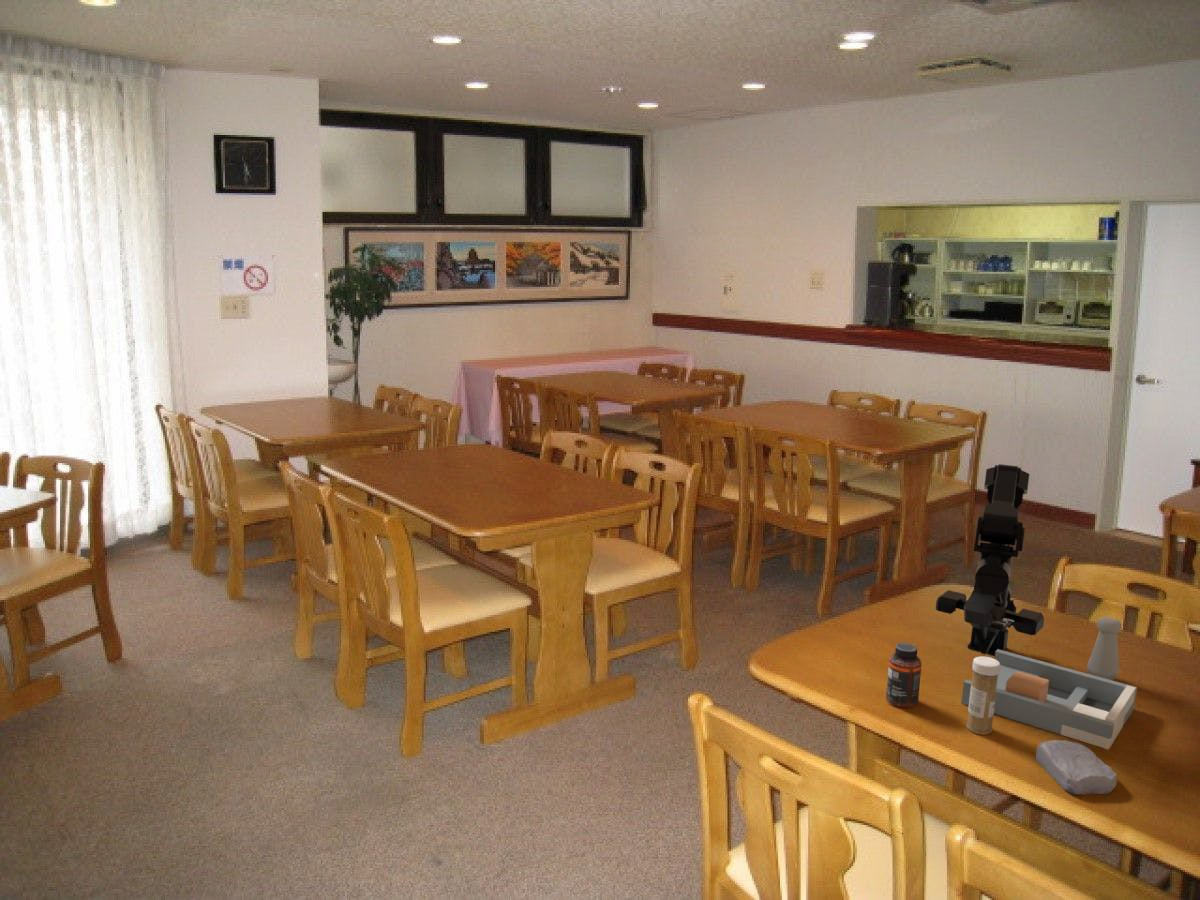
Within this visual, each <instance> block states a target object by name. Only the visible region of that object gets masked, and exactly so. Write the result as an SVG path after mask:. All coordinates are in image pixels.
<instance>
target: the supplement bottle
mask: <svg viewBox="0 0 1200 900" xmlns="http://www.w3.org/2000/svg"><path fill="white" fill-rule="evenodd" d="M921 674H922V660H921V658H920V657H919V656H918V647H917V646H916V645H915V644H911V643H908V642H899V643H896V645H895V648H894V653H892V655H890V657H889V660H888V671H887V682H886V697H885V699H886V701H887V703H889V704H890V705H893V706H895V707H898V708H903V709H904V708H907V709H909V708H914V707H915V706H917V705H918V703H919V699H920V698H919V696H920V686H921Z"/></svg>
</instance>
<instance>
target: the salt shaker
mask: <svg viewBox="0 0 1200 900" xmlns="http://www.w3.org/2000/svg"><path fill="white" fill-rule="evenodd" d="M1096 628H1097V629H1098V630H1099V632H1098V635H1097V638H1096V640H1095V644H1094V646H1093V649H1092V651H1091V653H1090V656H1089V659H1088V662H1087V665H1086V669H1087V670H1088V674H1090V675H1094V676H1098V677H1101V678H1105V679H1109V680H1112V681H1115V679H1116V677H1117V676H1118V674H1119V672H1120V664H1119V663H1120V662H1119V661H1120V658H1119V644H1118V634H1119V633H1120V632H1121V630H1122V623H1121V622H1120V620H1119V619H1117V618H1115V617H1110V616H1101V617H1100V618H1099V619H1097V624H1096Z"/></svg>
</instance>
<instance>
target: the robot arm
mask: <svg viewBox="0 0 1200 900" xmlns="http://www.w3.org/2000/svg"><path fill="white" fill-rule="evenodd" d="M984 478H985V479H984V485H983V486H984V490H987V492H986V500H987V502H988V504H987V505H985V506H984V507H983V511H982V515H981V516H980V515H979V516H978V519H977V524H976V530H975V531H976V533H975V539H974V546H973V547H974V548H973V552H977V553H979V555H978V556H979V557H978V558H979V559H978V563H977V567H976V571H975V575H974V581H975V582H974V585H973V590H972V592H971V594H970V595H969V597H968V599H967V595H966V593H963V592H962V593H961V592H957V591H954V590H949V589H948V590H946V591H945V592H944V593H942V594H941V595H939V596H938V597H937V599H936V602H935V610H936V611H938V612H941V613H945V614H948V615H951V614H953V613H955V612H956V611H957V609H958V610H962V611H963V620H964V622H965V623H967V624H970V625H971V626H972V628H971V629H972V630H971V635H970V642H969V643H968V644H967V648H969V649H971V650H975V651H979V652H980V654H981V655H986V654H989V655H993V656H995V651H996V650H997V649H999V650H1003V651H1005V650H1006V649H1007V646H1008V639H1009V632H1010V631H1009V629H1010V628H1011V627H1012V626H1013V628H1014V630H1015V631H1016V632H1018V633H1022V634H1025V635H1030V636H1036V635H1037V634H1038V633H1039V632H1040V631H1041V630H1042V629H1043V628H1044V624H1045V616H1044V615H1043V613H1042V612H1039V611H1036V610H1031V609H1028V608H1022V609H1021V610H1020V611H1019V612H1017V606H1016V605H1015V603H1014V600H1013V599H1011V596H1012V595H1011V594H1012V589H1011V580H1010V577H1011V569H1012V562H1013V557H1014V558H1018V557H1019V556H1018V555H1019V552H1023V547H1024V546H1023V544H1024V538H1025V537H1024V535H1025V526H1024V525H1023V524H1024V522H1023V521H1021V520H1020V521H1019V516H1020V511H1019V507H1020V506H1021V505H1022V504H1023V500H1024V499H1023V498H1024V495H1028V489H1029V480H1030V473H1028V472H1026V471H1024V470H1022V467H1019V466H1018V465H1010V464H1009V465H1008V464H1003V463H1001V464H1000V463H999V464H996V465H994V466H993V467H989V468H986V471H985V477H984ZM979 541H980V544H979ZM1014 546H1015V549H1014ZM1007 628H1009V629H1007Z"/></svg>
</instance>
